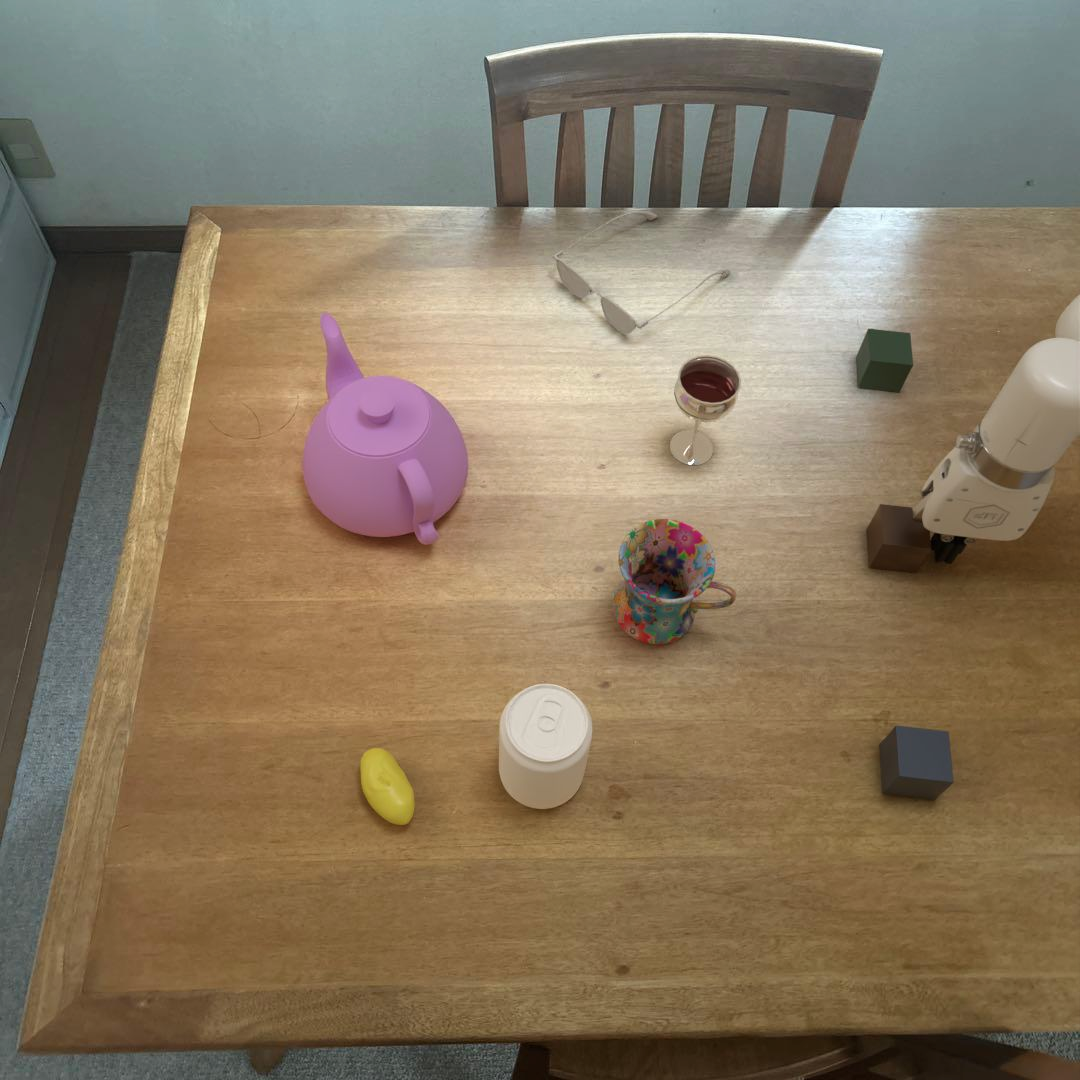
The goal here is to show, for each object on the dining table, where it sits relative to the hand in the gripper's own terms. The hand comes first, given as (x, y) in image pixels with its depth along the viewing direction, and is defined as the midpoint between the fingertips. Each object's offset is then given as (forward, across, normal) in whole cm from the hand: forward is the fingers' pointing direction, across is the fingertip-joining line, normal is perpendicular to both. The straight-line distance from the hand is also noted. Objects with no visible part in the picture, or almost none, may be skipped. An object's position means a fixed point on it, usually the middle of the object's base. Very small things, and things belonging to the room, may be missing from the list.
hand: (941, 551), depth 116 cm
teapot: (+1, -61, +3) cm, 61 cm away
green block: (+1, -5, +25) cm, 26 cm away
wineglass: (+1, -27, +11) cm, 29 cm away
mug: (+1, -29, -11) cm, 31 cm away
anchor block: (+1, -5, -25) cm, 26 cm away
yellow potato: (+1, -54, -33) cm, 63 cm away
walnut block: (+1, -5, 0) cm, 5 cm away
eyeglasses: (+1, -34, +37) cm, 50 cm away
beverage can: (+1, -40, -29) cm, 50 cm away
